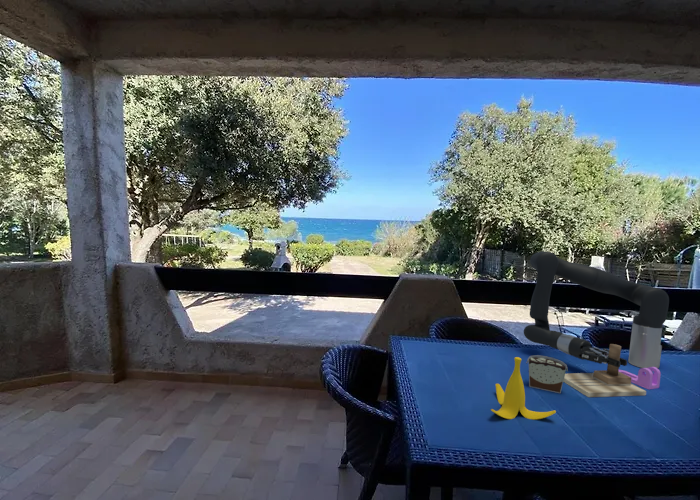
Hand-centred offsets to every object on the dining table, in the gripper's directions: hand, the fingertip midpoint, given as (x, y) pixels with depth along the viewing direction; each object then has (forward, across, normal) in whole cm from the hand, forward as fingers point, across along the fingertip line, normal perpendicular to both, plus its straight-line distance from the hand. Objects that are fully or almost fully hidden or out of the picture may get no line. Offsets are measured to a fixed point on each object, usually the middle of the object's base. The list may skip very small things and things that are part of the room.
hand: (622, 363), depth 117 cm
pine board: (-4, -5, +9) cm, 11 cm away
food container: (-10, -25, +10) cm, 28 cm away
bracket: (-3, +14, +10) cm, 17 cm away
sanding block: (-3, 0, +8) cm, 8 cm away
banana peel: (-2, -51, +10) cm, 52 cm away
